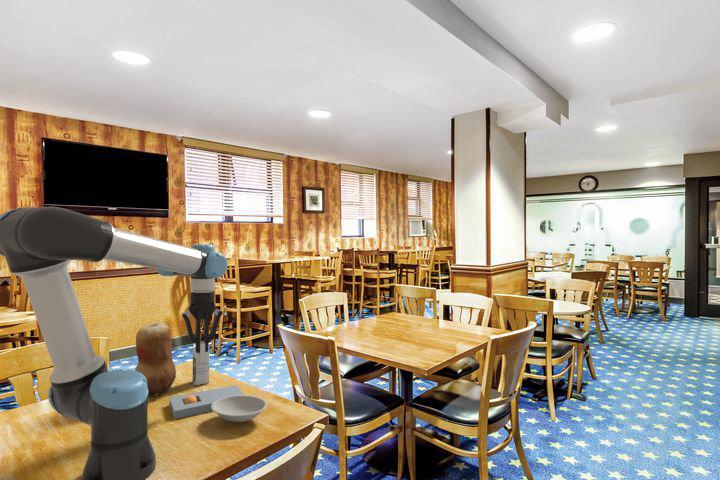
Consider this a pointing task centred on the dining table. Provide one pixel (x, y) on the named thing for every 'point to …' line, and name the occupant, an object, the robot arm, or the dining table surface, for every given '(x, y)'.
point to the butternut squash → (155, 357)
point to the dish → (239, 407)
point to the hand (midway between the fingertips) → (201, 362)
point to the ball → (190, 400)
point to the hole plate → (200, 401)
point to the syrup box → (200, 368)
